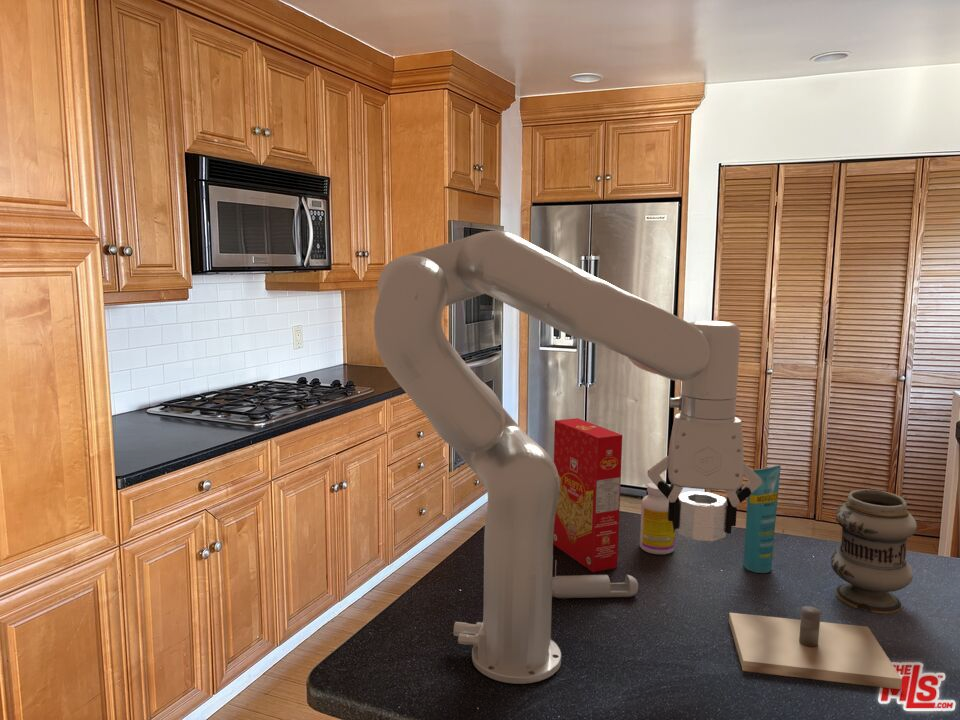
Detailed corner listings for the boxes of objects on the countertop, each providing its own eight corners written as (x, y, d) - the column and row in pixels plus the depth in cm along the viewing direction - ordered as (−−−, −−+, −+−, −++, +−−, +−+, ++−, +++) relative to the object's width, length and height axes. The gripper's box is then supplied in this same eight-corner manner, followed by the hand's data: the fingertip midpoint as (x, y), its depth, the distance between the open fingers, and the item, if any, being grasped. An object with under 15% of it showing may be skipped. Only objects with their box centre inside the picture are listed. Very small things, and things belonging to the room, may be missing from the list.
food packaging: (551, 542, 144) (554, 420, 140) (574, 538, 146) (577, 418, 143) (593, 572, 131) (597, 437, 127) (617, 567, 133) (622, 434, 129)
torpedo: (633, 588, 125) (634, 552, 124) (641, 601, 120) (642, 564, 119) (529, 591, 123) (530, 554, 122) (533, 604, 119) (534, 566, 118)
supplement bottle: (678, 556, 138) (681, 491, 136) (643, 555, 138) (646, 491, 136) (669, 542, 145) (672, 480, 143) (636, 542, 145) (639, 480, 143)
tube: (754, 577, 129) (761, 473, 127) (733, 567, 133) (739, 466, 131) (782, 568, 133) (789, 467, 130) (760, 559, 137) (766, 461, 134)
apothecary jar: (826, 606, 119) (835, 501, 116) (829, 578, 129) (837, 481, 127) (911, 624, 113) (922, 514, 111) (907, 593, 124) (917, 492, 121)
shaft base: (742, 670, 100) (745, 626, 99) (728, 621, 113) (731, 582, 112) (900, 689, 96) (905, 643, 95) (867, 636, 109) (870, 595, 109)
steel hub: (678, 538, 103) (680, 504, 102) (675, 521, 109) (677, 490, 108) (727, 542, 101) (729, 508, 101) (721, 525, 108) (723, 493, 107)
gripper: (646, 410, 101) (640, 532, 103) (777, 416, 97) (768, 543, 100) (644, 399, 108) (639, 514, 111) (767, 405, 105) (759, 523, 107)
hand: (700, 527), depth 105 cm, fingers closed on steel hub, 6 cm apart
